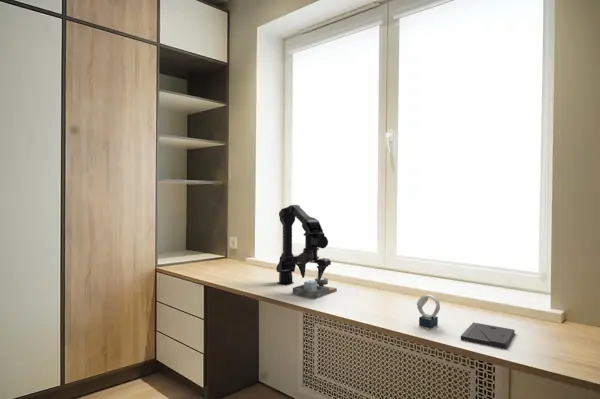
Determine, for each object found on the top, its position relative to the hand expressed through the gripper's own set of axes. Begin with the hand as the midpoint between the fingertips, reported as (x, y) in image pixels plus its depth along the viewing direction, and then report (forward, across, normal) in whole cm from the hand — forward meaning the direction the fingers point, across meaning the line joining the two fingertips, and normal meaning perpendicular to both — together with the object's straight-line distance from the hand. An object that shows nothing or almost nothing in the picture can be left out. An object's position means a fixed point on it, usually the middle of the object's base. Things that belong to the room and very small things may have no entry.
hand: (311, 278), depth 191 cm
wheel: (+4, 0, +9) cm, 10 cm away
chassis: (+7, 0, +4) cm, 8 cm away
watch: (+8, +60, -12) cm, 61 cm away
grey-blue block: (+7, 0, 0) cm, 7 cm away
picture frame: (+8, +80, -11) cm, 81 cm away
